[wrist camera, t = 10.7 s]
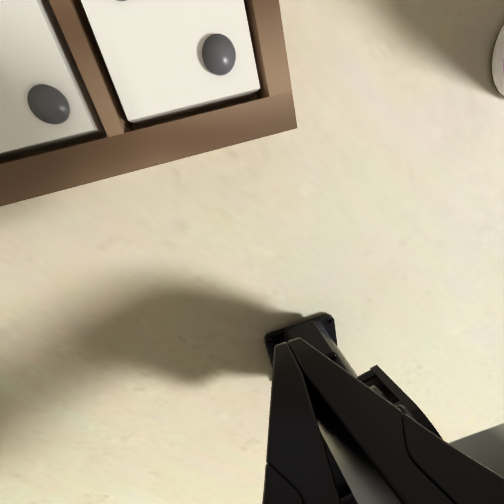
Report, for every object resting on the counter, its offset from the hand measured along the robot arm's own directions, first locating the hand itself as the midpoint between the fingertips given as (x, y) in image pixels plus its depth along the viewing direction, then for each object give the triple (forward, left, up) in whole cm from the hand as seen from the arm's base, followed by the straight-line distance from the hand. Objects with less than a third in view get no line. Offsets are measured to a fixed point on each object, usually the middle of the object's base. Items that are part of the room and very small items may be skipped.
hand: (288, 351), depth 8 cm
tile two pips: (+11, 0, -10) cm, 15 cm away
